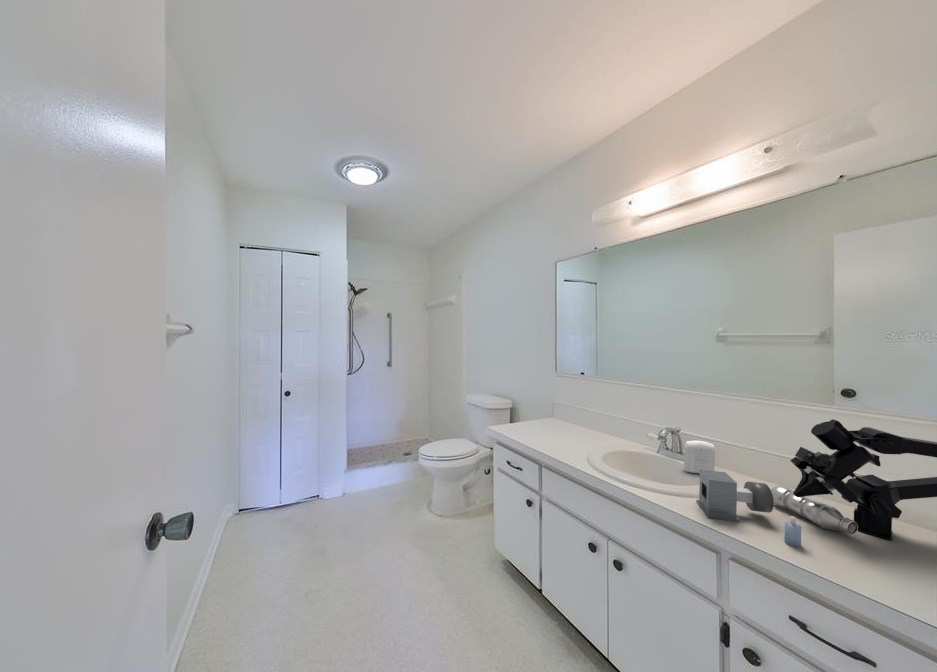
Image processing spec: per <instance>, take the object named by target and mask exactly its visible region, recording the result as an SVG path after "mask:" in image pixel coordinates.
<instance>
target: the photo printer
mask: <svg viewBox="0 0 937 672" xmlns="http://www.w3.org/2000/svg"><path fill="white" fill-rule="evenodd" d="M715 451H716V449H715V445H714V444H713V443H711V442H709V441H705V440H696V439H695V440H687V441H685V442H684V451H683V452H684V453H683V454H684V455H683V456H684V457H683V471H685V472H686V473H692V474H693V473H694V474H700V470H708V471H715V461H716V460H715V455H716V452H715Z"/></svg>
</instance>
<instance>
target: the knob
mask: <svg viewBox="0 0 937 672" xmlns="http://www.w3.org/2000/svg"><path fill="white" fill-rule="evenodd" d="M771 490H772V489H770V487H769V485H768V484H766V483H765V482H764V483H763V482H754V481H746V482H745V483H744V486H743V487H737V502H738V503H745V504H746V506H747V508H748V509H749V510H750V511H752V512H760V513H766V514H767V513H768V514H771V513H772V512H773V510H774V505H775V504H774V501H773V495H772V492H771Z"/></svg>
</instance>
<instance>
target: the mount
mask: <svg viewBox="0 0 937 672" xmlns="http://www.w3.org/2000/svg"><path fill="white" fill-rule="evenodd" d="M698 488H699V492H698V493H699V496H698V497H699V499H696V504H697V503H698V504H697V505H698V507H699V508H700V509H701V510H702V512H703V514H704V515H705V516H706V518H708V519H714V520H720V521H728V522H735V523H740V522H741V519H740V518H739V517H738V516H737V502H738V501H737V488H738V482H737V481H736V480H734V479H733V478H732V477H731V476H730V475H729V474H728V473H727V472H725V471H718V470H717V471H716V470H714V471H708V470H700V473H699V487H698Z"/></svg>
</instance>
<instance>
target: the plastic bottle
mask: <svg viewBox="0 0 937 672" xmlns="http://www.w3.org/2000/svg"><path fill="white" fill-rule="evenodd" d="M770 490H771V492H772V495H773V501H774V505H775V506H777V507H779V509H783V510H787V511H790V512H792V513H795V514H798V515H800V516H802V517H804V518H806V519H807V520H810V521H811V522H813V523H815V524H816V525H818V526H819V527H820V528H823V529H825V530H829V531H837V530H840V531H841V532H842V533H846V534H848V535H855V534H856V533H857V532H858V531H857V530H858V524H857V523H856V522H855V521H854V519H853V520H852V519H850V518H849V517H845V516H844V515H843V514H842V513H841V511H839V509H837V508H835V507H834V506H831V505H828V504H825V503H821V502H818V501H815V500H813V499H810V498H808V497H806V496H805V497H796V496H795V495H794V494H793V492H794V491H795V490H792V489H790V488H789V487H786V486H782V485H776V486H774V487H772V488H771V489H770Z"/></svg>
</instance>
